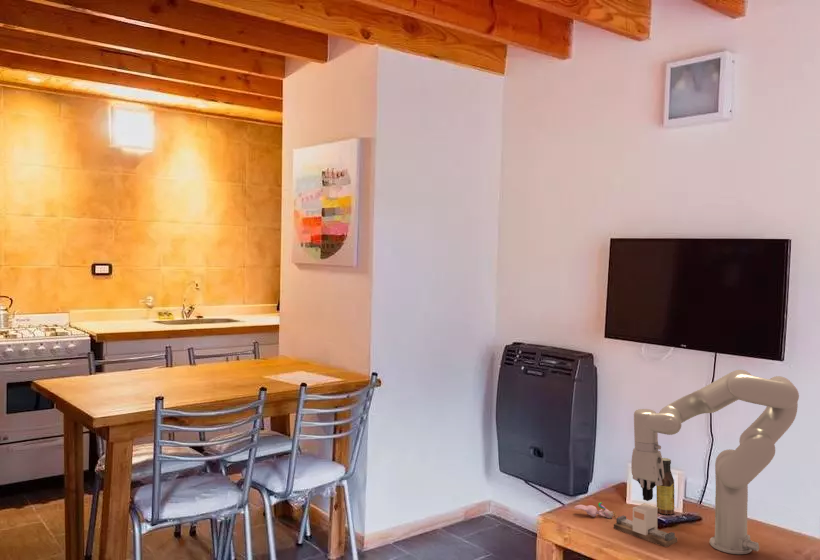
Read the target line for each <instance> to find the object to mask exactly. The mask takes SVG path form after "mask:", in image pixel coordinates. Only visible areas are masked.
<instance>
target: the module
mask: <svg viewBox="0 0 820 560" xmlns="http://www.w3.org/2000/svg"><path fill="white" fill-rule="evenodd" d="M657 510H658V507H657V506H655V505H652V504H650V503H649V504H648V503H645V502H644V503H642V504H639V505H636V506H633V507H632V521H633V531H635V532H637V533H640V534H643V535H648V530H649V529H651V528H655V529H658V511H657Z"/></svg>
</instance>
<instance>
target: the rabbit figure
mask: <svg viewBox="0 0 820 560" xmlns="http://www.w3.org/2000/svg"><path fill="white" fill-rule="evenodd" d="M597 507H599V508H600V509H599V510H598V509H597ZM597 507H596V506H594V505H590V504H588V505H584V504H577V505H575V506H574V507H573V508H574V510H582V511H583V512H586V514H587V515H588V516H591V517H593V518H595V517H597V515H599V516H600V517H605V518H607V519H612V518H613V516H614V517H615V518H614V519H615V520H616V519H617V518H618V517H617V516H618V514H617V513H616V511H614V510H612V511H610V510H609V509H608V508H606V506H604V505H603V502H601V501H599V502H598V503H597ZM603 509H604V510H603Z"/></svg>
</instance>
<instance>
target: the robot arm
mask: <svg viewBox="0 0 820 560" xmlns="http://www.w3.org/2000/svg"><path fill="white" fill-rule="evenodd" d="M799 394H800V393H799V391H798V388H797V387H796V386H795V384H793V382H792V381H790V380H789V379H788V378H786V377H784V376H777V375H776V376H772V377H771V378H764V377H758V376H755V375H753V374H751V372H748V371H746V370H744V369H736V370H732V371H730V372H729V373H727V374H726V375H724V376H722V377H720V378H718V379H716V380H715V381H713V382H711V383H709V384H708V385H706V386H703V387H701V388H700V389H697V390H695V391H693V392H691V393H688V394H686V395H685V396H682V397H680V398H678V399H677V400H675V401H673V402H671V403H669V404H667V405H666V406H664V407H663V408H661V409H660V411H658V412H656V411H655V410H654V409H649V408H640V409H639V408H638V409H636V410H635V411H634V412H633V435H634V448H633V450H632V455H631V467H630V468H631V470H630V471H631V475H632V479H633V480H634V481H635V482H638V484H639V485H640V488H641V491H642V494H641V495H642V500H644V501H647V502H649V501H652V500H653V498H654V492H653V491H654V489H655V488H656V486H660V485H662V484H663V483H662V479H664V467H663V460H662V458H663V457H662V456H663V455H662V452H661V448H662V446H661V445H660V444H659V439H658V434H662V435H667V436H672V435H675V434H678V433H679V432H680V431H681V429H682V424H683V423H684V422H686V421H688V420H690V419H692V418H694V417H696V416H699V415H702V414H703V415H704V414H713V413H716V412H719V411H720V410H722V409H724V408H726V407H728V406H729V405H731V404H733V403H735V402H737V401H741V402H746V403H750V404H755V405H761V406H765V407H766V408H765V409H763V411H762V412H761V413H760V415H759V416H758V417H757V418H756V419H755V420H754V421H753V422H752V423H751V424H750V425H749V426H748V427H747V428H746V429H744V431H743V432H742V433H741V435H740V436H739V445H738V446H737V447H736V448H735V449H724V450H722V451H721V452H720V453H718V455H717V456H716V459H715V463H714V467H715V468H714V469H715V470H714V471H715V472H714V473H715V475H714V476H715V477H714V478H715V497H714V498H715V499H714V500H715V501H714V502H715V506H714V508H715V509H714V513H715V514H714V520H715V521H714V536H712V537H710V538H709V544H710V546H711V547H712V548H714V549H715V550H718V551H720V552H722V553H723V552H724V553H727V554H730V555H731V554H732V555H747V554H750V553H751V552H752V551H755V552H759V551H760V545H759V542H756V541H753V540H752V539H751V535H749V534H748V501H749V500H748V497H749V494H748V493H749V492H748V488H749V487H748V485H749V484H750V483H751V482H752V481H753V480H754V479H755V478H757V476H759V474H760V473H761V472H762V471H763V470H764V469H766V467H767V466H768V465H769V464H770V463H771V462H772V460H773V459H774V457H775V454H776V445H775V444H776V443H777V442H778V441H779V439H781V438H782V437H783V435H784V434H785V433H786V432H787V431H788V430H789V429H790V427H792V425H793V423H794V421H795V419H796V418H797V417H796V416H797V413H798V408H799V407H798V401H799V398H800V395H799Z"/></svg>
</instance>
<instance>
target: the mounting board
mask: <svg viewBox="0 0 820 560" xmlns="http://www.w3.org/2000/svg"><path fill="white" fill-rule="evenodd" d="M613 529H615V530H618V531H620V532H623V533H625V534H628V535H631V536H634V537H636V538H638V539H642V540H645V541H648V542H649V543H650V542H651V543H653V544H656V545H659V546H662V547H664V548H667V547H669V546H672V545H674V544H676V543H678V537H677V536H675V538H674V539H672V540H670V541H666V540H665V539H662V538H659V537H656V536H653V535H650V534H648V535H643V534H640V533H637V532H635V531H633V528H631V527H628V526H625V525H622V524H618V523H616V522H615V523H614V524H613Z"/></svg>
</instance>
